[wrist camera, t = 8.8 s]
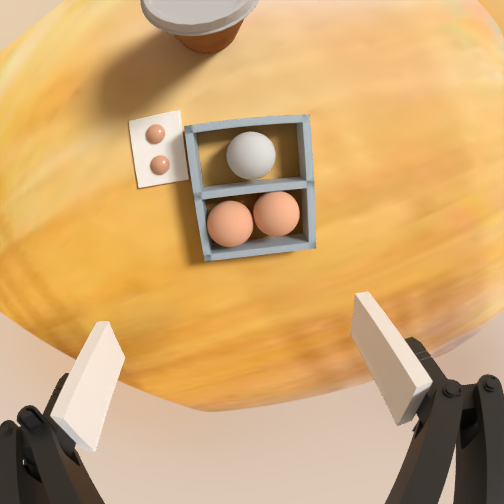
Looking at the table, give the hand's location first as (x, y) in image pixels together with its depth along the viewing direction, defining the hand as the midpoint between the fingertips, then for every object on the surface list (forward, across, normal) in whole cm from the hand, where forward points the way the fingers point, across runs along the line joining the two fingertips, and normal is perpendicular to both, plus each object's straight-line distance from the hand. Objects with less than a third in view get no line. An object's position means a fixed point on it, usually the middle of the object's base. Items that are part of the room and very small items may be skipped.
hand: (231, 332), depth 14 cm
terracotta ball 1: (+21, 0, 0) cm, 21 cm away
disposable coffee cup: (+21, 0, +22) cm, 31 cm away
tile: (+21, -7, +9) cm, 24 cm away
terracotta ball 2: (+20, +4, 0) cm, 21 cm away
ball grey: (+21, +3, +7) cm, 22 cm away
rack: (+21, +3, +3) cm, 21 cm away
